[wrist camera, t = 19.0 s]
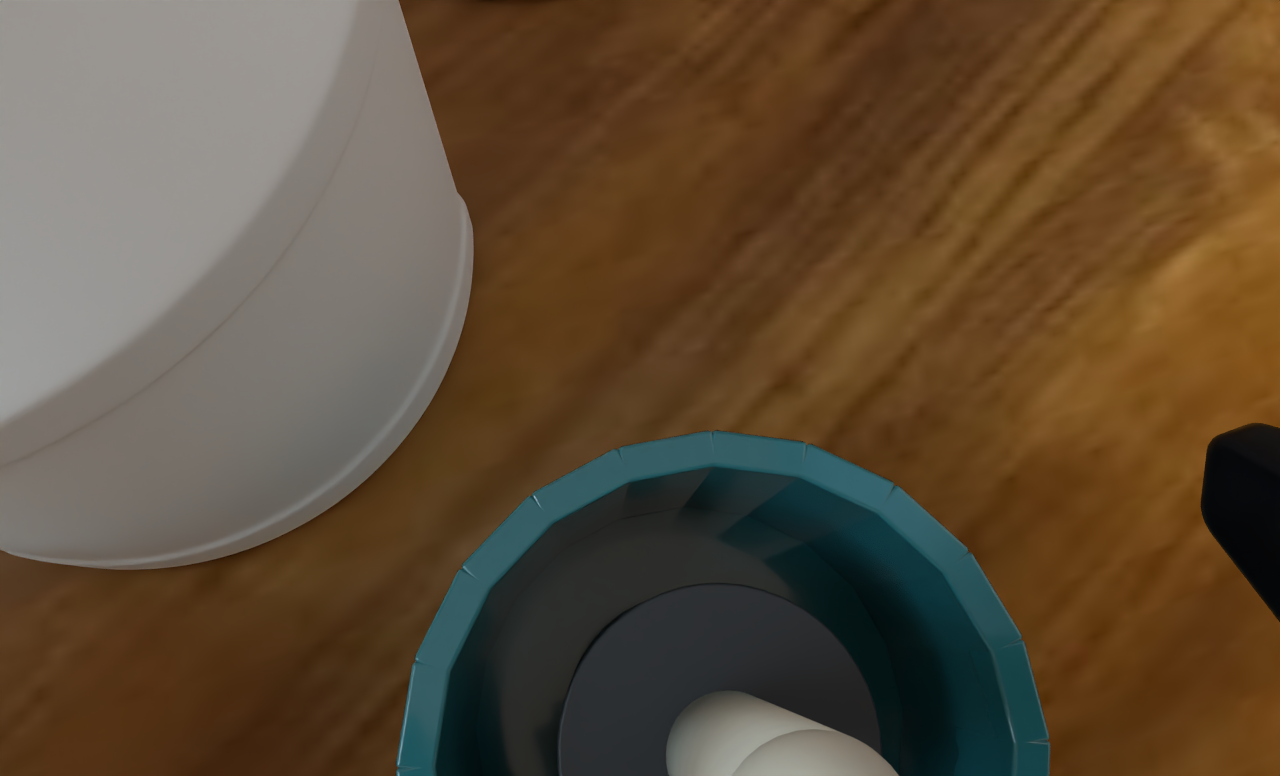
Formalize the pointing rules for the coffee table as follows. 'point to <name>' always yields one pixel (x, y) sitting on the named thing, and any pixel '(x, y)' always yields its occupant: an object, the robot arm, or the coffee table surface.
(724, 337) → the coffee table surface
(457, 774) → the tumbler
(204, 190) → the jar
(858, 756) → the brush
